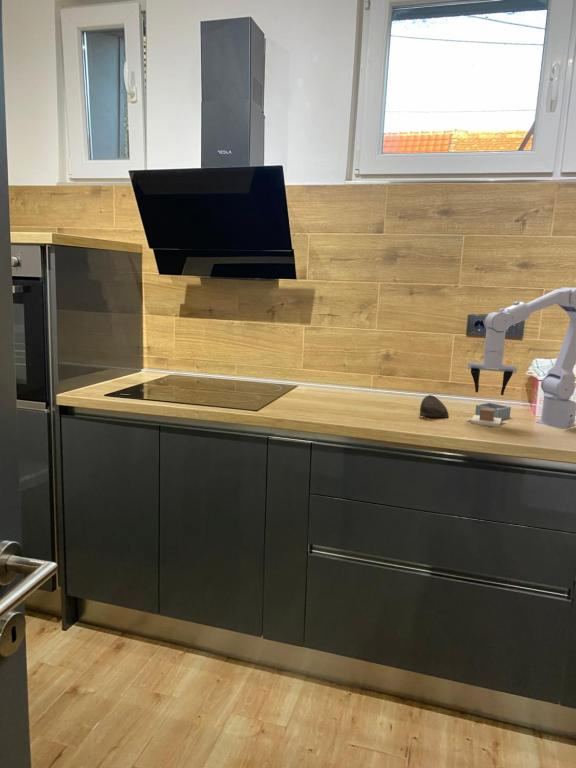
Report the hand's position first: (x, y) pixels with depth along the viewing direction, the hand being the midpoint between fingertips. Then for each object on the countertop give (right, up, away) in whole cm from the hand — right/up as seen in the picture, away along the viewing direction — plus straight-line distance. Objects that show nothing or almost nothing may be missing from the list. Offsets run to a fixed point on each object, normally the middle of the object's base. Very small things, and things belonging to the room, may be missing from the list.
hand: (489, 393), depth 181 cm
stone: (-16, -8, +8) cm, 20 cm away
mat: (-1, -10, +2) cm, 10 cm away
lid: (0, -9, +2) cm, 10 cm away
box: (+5, -8, +10) cm, 14 cm away
